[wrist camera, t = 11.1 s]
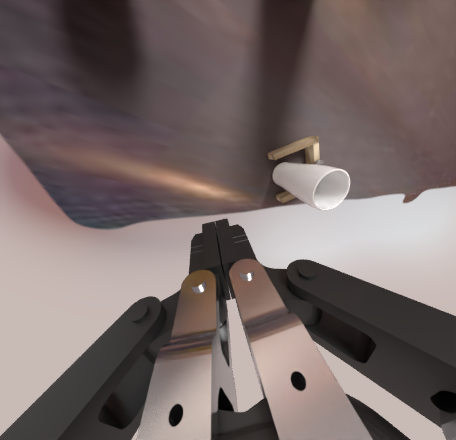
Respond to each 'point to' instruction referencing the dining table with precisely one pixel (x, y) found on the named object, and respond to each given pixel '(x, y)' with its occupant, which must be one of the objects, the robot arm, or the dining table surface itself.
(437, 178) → the dining table surface
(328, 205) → the drinking glass
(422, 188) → the dining table surface
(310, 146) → the oak dock
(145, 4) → the dining table surface
